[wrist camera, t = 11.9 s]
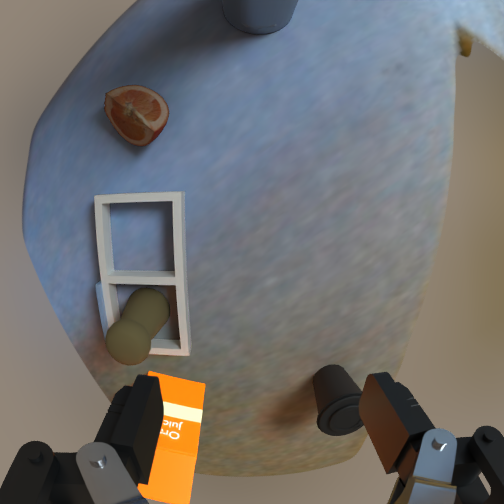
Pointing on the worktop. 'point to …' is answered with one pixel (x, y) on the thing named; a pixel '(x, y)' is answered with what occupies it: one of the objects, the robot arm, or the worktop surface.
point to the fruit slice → (136, 113)
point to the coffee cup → (337, 401)
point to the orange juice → (176, 441)
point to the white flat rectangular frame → (112, 277)
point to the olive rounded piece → (137, 326)
